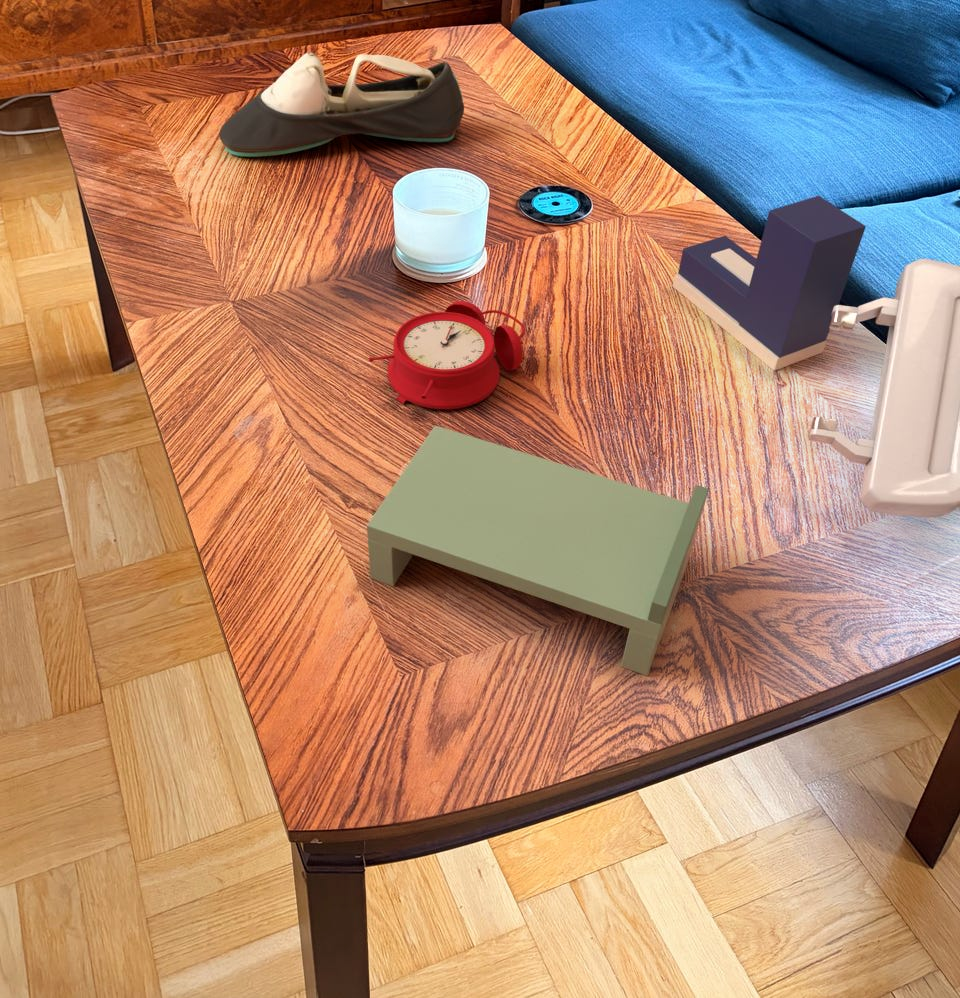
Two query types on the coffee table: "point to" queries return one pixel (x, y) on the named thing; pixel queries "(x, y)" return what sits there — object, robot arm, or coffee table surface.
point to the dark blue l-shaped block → (776, 280)
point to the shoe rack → (540, 533)
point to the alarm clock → (451, 357)
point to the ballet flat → (346, 108)
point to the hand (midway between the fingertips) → (821, 372)
